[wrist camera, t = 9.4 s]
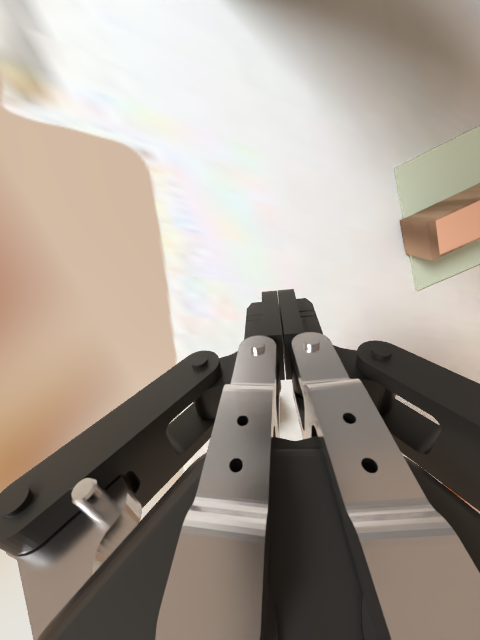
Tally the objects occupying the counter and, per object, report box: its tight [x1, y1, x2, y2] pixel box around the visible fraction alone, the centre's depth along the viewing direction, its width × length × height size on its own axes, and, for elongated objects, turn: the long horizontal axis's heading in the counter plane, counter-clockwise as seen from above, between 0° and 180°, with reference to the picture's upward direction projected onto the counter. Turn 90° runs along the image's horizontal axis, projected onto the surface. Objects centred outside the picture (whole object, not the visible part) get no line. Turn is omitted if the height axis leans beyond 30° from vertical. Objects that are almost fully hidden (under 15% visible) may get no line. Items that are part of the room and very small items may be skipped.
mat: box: [394, 126, 480, 291], centre depth 34 cm, size 18×14×1 cm
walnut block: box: [400, 183, 480, 260], centre depth 32 cm, size 5×5×12 cm
